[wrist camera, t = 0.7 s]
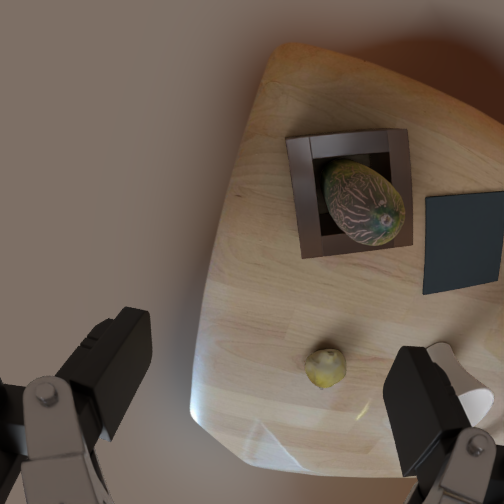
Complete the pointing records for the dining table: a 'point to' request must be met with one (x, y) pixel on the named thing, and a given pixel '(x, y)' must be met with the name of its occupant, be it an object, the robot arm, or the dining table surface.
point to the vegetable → (362, 202)
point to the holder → (382, 161)
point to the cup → (463, 383)
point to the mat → (463, 240)
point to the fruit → (325, 367)
